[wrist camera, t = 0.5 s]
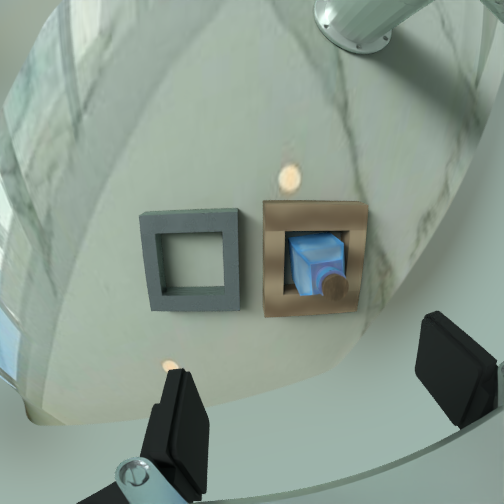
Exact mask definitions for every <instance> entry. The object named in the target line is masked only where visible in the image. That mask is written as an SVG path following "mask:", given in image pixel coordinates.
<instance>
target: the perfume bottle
mask: <svg viewBox="0 0 504 504" xmlns="http://www.w3.org/2000/svg"><path fill="white" fill-rule="evenodd" d="M288 244H289V254H290V263H291V273H292V279H293V281H294V283H295V285H296V288H297V290H298V292H299V294H300V296H304V295H315V294H321V295H323V296H324V297H325V299H327V300H328V301H332V302H333V301H339V300H341V299H342V298H344V297H345V296H346V294H347V292H348V290H349V283H348V281H347V279H346V277H345V263H344V243H343V242H341V241H340V240H339V239H338V238H337V237H335V236H334V235H333V234H332V233H330V232H323V233H317V234H310V235H303V236H296V237H289V238H288Z"/></svg>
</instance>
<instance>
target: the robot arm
mask: <svg viewBox="0 0 504 504" xmlns="http://www.w3.org/2000/svg"><path fill="white" fill-rule="evenodd" d="M433 1H435V0H316V2H315V4H314V10H313V11H314V18H315V21H316V23H317V25H318V27H319V29H320V30H321V31H322V33H323V34H324V35H325V36H326V37H327V38H328V39H329V40H330V41H332V42H333V43H334V44H336V45H337V46H339V47H341V48H343V49H345V50H348V51H350V52H354V53H358V54H371V53H375V52H378V51H379V50H381V49H383V48H384V47H385V46H386V45H387V44H388V43H389V41H390V39H391V35H392V29H393V28H394V27H396V26H397V25H399V24H400V23H401V22H403V21H404V20H406V19H407V18H409V17H410V16H412V15H413V14H415V13H416V12H418V11H419V10H421V9H422V8H424V7H425V6H427V5H428V4H430V3H432V2H433ZM480 1H481V2H482V3H483V4H484V5H485V6H486V7H487V8H488V9H489V10H490V11H491V12H492V13H493V14H494V15H495V16H496V17H497V18H498V19H499V20H500V21H501V22H502V23H503V24H504V0H480ZM324 27H325V28H324ZM357 48H358V49H357ZM496 363H497V360H496V359H495V358H494V357H493V356H491V354H489V353H488V352H487V351H486V350H485V349H484V348H483V347H481V346H480V345H479V344H478V343H477V342H476V341H474V340H473V339H472V338H471V337H470V336H468V335H467V334H466V333H465V332H464V331H462V330H461V329H460V328H459V327H458V326H457V325H455V324H454V323H453V322H452V321H451V320H449V319H448V318H447V317H446V316H444V315H443V314H442V313H441V312H440V311H435V312H432V313H429V314H426V315H425V317H424V319H423V320H422V324H421V332H420V339H419V346H418V353H417V359H416V365H415V373H416V376H417V377H418V379H419V380H420V381H421V382H422V384H423V385H424V386H425V387H426V389H427V390H428V391H429V393H430V394H431V395H432V397H434V399H435V401H436V402H437V403H438V405H439V406H440V407H441V409H442V410H443V411H444V412H445V414H446V415H447V417H448V418H449V419H450V421H451V422H452V423H453V424H454V425H455V426H458V427H459V428H460V431H458V432H456V433H454V434H452V435H450V436H448V437H447V438H444V439H443V440H441V441H439V442H437V443H435V444H432V445H430V446H428V447H426V448H424V449H422V450H420V451H417V452H415V453H413V454H411V455H408V456H406V457H403V458H401V459H399V460H396V461H394V462H391V463H388V464H386V465H383V466H380V467H378V468H375V469H372V470H369V471H366V472H363V473H360V474H357V475H353V476H350V477H347V478H343V479H340V480H336V481H332V482H329V483H325V484H321V485H317V486H313V487H308V488H303V489H299V490H293V491H288V492H282V493H276V494H270V495H263V496H256V497H249V498H240V499H230V500H229V499H228V500H218V501H208V502H197V503H193V501H201V500H202V494H205V493H206V490H207V467H208V445H209V418H208V416H207V413H206V411H205V408H204V406H203V403H202V401H201V398H200V396H199V393H198V391H197V388H196V386H195V383H194V381H193V378H192V375H191V373H190V372H186V371H185V369H183V368H182V369H173V370H169V371H168V374H167V378H166V382H165V385H164V389H163V393H162V397H161V401H160V403H159V404H154V405H153V408H152V411H151V415H150V419H149V423H148V426H147V430H146V434H145V438H144V441H143V446H142V449H141V454H140V457H132V458H129V459H127V460H125V461H123V462H122V463H120V465H119V466H118V467H117V469H116V471H115V480H116V481H115V482H114V483H112V484H110V485H109V486H107V487H105V488H103V489H102V490H100V491H98V492H97V493H95V494H93V495H91V496H89V497H87V498H86V499H84V500H82V501H80V502H78V503H77V504H504V362H502V363H501V364H500V366H499V367H498V366H497V365H496Z"/></svg>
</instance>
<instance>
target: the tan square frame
mask: <svg viewBox="0 0 504 504" xmlns="http://www.w3.org/2000/svg"><path fill="white" fill-rule="evenodd" d="M367 218H368V205H367V204H364V203H361V202H359V201H316V200H263V310H264V316H265V317H286V316H303V315H318V314H332V313H344V312H355V311H357V306H358V300H359V293H360V286H361V278H362V270H363V262H364V252H365V242H366V231H367ZM336 230H341V242H343V243H344V263H345V277H346V279H347V281H348V283H349V290H348V292H347V294H346V296H345V297H344V298H342V299H341V300H339V301H333V302H332V301H328V300H327V299H325V297H324V296H323V295H321V294H315V295H304V296H300V294H299V292H298V290H297V288H296V285H295V284H284V285H283V283H284V248H285V231H336Z"/></svg>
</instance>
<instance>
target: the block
mask: <svg viewBox="0 0 504 504" xmlns="http://www.w3.org/2000/svg"><path fill="white" fill-rule="evenodd" d="M139 221H140V232H141V241H142V250H143V259H144V266H145V274H146V281H147V288H148V294H149V301H150V307H151V311H240V296H239V258H238V212H237V208H223V209H193V210H170V211H150V212H144V213H143V214H141V215H139ZM220 231H222V236H223V262H224V285H225V286H214V287H166V281H165V273H164V264H163V254H162V244H161V233H186V232H220Z"/></svg>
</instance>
